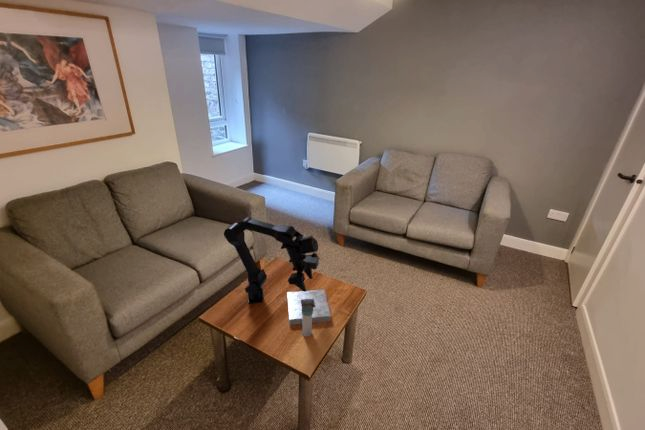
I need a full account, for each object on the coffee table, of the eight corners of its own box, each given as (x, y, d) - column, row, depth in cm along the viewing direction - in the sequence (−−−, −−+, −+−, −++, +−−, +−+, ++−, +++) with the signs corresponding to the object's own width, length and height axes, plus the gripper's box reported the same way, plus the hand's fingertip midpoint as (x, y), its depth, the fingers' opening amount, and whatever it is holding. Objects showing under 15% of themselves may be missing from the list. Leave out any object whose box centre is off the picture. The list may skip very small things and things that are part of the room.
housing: (289, 324, 134) (289, 319, 133) (287, 297, 150) (287, 292, 149) (330, 321, 137) (330, 315, 136) (324, 294, 153) (324, 289, 152)
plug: (302, 337, 128) (302, 313, 123) (301, 329, 132) (301, 305, 127) (313, 336, 129) (313, 312, 123) (311, 328, 133) (312, 304, 127)
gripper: (306, 263, 121) (319, 296, 126) (318, 240, 138) (330, 270, 143) (281, 267, 125) (295, 299, 130) (296, 245, 142) (308, 273, 147)
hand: (308, 284), depth 137 cm, fingers open, 9 cm apart
